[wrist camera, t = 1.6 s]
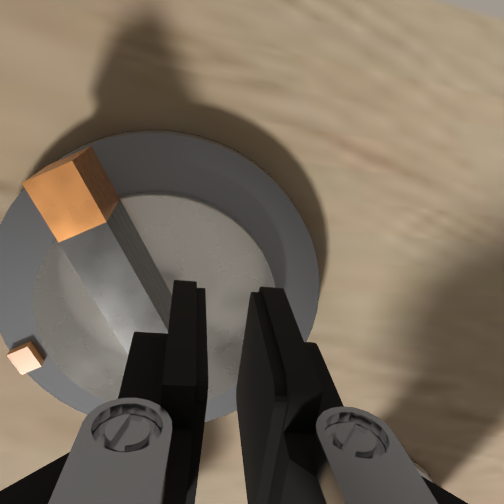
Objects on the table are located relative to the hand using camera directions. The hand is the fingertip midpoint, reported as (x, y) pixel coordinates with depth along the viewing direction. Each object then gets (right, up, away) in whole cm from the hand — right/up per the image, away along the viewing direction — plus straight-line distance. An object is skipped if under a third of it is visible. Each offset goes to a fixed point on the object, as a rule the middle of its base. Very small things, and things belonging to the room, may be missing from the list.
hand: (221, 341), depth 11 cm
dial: (-5, 0, +17) cm, 18 cm away
